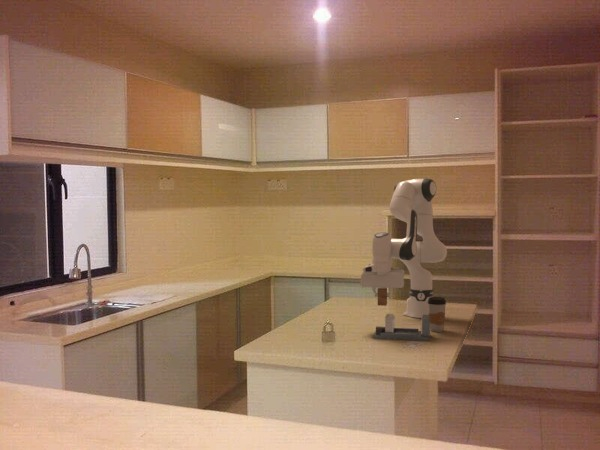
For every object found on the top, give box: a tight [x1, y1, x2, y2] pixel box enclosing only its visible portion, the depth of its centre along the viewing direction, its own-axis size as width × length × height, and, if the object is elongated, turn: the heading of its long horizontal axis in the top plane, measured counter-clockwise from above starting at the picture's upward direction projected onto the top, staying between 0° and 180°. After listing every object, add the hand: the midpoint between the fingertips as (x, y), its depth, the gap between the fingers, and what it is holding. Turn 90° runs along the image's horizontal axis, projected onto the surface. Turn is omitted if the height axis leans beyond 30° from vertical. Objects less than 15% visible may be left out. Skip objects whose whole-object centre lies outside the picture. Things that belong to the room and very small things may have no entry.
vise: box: [373, 315, 431, 342], centre depth 258 cm, size 12×24×9 cm, turn 76°
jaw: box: [375, 313, 396, 333], centre depth 260 cm, size 9×8×7 cm
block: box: [377, 287, 388, 307], centre depth 272 cm, size 4×4×8 cm
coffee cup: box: [428, 296, 447, 333], centre depth 269 cm, size 8×8×15 cm
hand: (382, 296), depth 272 cm, fingers closed on block, 4 cm apart
